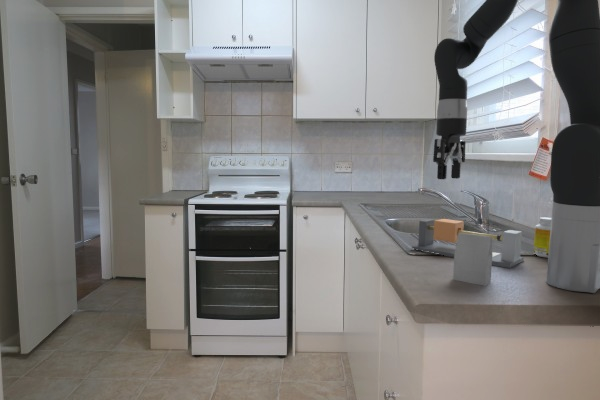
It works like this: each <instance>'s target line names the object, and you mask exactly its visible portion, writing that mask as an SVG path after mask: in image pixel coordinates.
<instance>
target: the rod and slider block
mask: <svg viewBox="0 0 600 400" xmlns="http://www.w3.org/2000/svg"><path fill="white" fill-rule="evenodd" d="M435 220H436V219H432V218H431V219H430V218H426V219H422V220H419V223H418V224H419V225H418V226H419V227H418V241H417V242H418V244H415V245H412V246H411V249H412V248H414V249H418V250H423V251H429V252H434V253H439V254H442V255H441V256H443V255H444V257H448V258H453V259H454V254H455V248H456V245H455V244H454V245H453V244H448V243H441V242H436V241H434V239H433V237H434V221H435ZM458 233H466V234H474V235H482V236H490V237H492V240H497V242H502V244H501V252H493V251H492V254H493V255H492V266H496V267H502V268H506V269H510V268H512V267H515V266H517V265H519V264H520V263H522V262H524V259H525V256H524V257H523V256H521V252H522V251H521V250H522V238H523V237H522V236H523V231H521V230H512V229H508V230H504V231H503V232H502V234H498V235H496V234H495V235H494V234H489V233H482V232H481V233H480V232H476V231H468V230H463V231H462V230H458V231H457V234H458Z"/></svg>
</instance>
